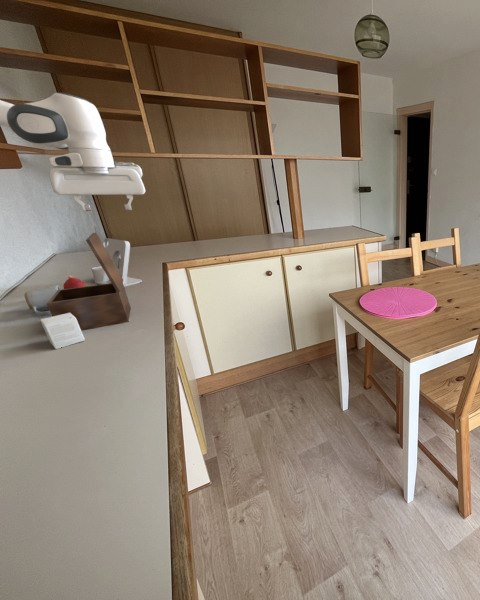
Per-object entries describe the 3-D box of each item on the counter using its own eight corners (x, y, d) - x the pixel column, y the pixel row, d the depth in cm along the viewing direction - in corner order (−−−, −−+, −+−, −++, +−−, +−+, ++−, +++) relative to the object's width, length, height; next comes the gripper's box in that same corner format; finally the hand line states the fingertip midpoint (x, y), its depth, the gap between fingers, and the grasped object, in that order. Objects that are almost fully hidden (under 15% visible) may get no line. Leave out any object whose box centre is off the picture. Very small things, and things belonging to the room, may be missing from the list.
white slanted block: (79, 334, 91) (70, 311, 88) (85, 341, 88) (76, 317, 85) (49, 343, 86) (39, 319, 84) (54, 349, 83) (43, 325, 81)
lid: (85, 240, 88) (89, 239, 89) (92, 233, 98) (95, 232, 99) (117, 292, 96) (120, 291, 96) (120, 280, 106) (123, 279, 106)
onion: (86, 292, 123) (79, 272, 120) (90, 295, 120) (83, 275, 117) (65, 296, 119) (57, 276, 116) (69, 299, 116) (61, 279, 113)
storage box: (59, 334, 91) (46, 303, 87) (69, 318, 101) (57, 289, 98) (128, 321, 100) (119, 293, 96) (130, 308, 110) (122, 281, 106)
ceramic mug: (33, 308, 107) (24, 287, 104) (67, 302, 113) (59, 282, 110) (30, 319, 100) (20, 296, 97) (66, 312, 106) (57, 291, 103)
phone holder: (92, 282, 134) (77, 240, 127) (120, 276, 143) (107, 237, 136) (117, 288, 128) (102, 245, 121) (144, 281, 136) (131, 240, 130)
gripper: (139, 162, 98) (151, 208, 103) (45, 159, 86) (64, 210, 91) (139, 162, 93) (151, 210, 98) (39, 158, 81) (59, 212, 86)
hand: (108, 210), depth 95 cm, fingers open, 8 cm apart
